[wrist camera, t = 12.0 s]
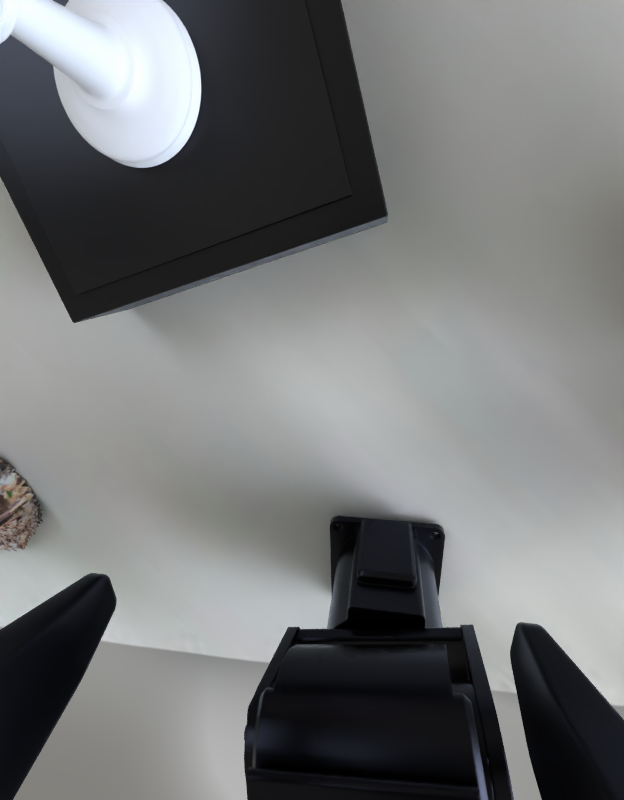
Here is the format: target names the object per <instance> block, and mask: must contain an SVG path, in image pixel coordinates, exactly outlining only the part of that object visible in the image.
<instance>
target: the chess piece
mask: <svg viewBox="0 0 624 800" xmlns="http://www.w3.org/2000/svg"><path fill="white" fill-rule="evenodd" d="M9 35H11V36H13V37H14V38H16V39H17V40H19V41H20V42H22V43H23V44H25V45H26V46H27V47H29V48H30V49H31V50H33V51H34V52H36V53H37V54H38V55H40V56H41V57H42V58H44V59H45V60H47V61H48V62H49V63H51V64H52V65H53V69H54V76H55V82H56V86H57V90H58V93H59V96H60V99H61V102H62V104H63V107H64V109H65V111H66V113H67V115H68V117H69V119H70V120H71V122H72V124H73V125H74V127H75V128H76V129H77V131H78V132H79V133H80V135H81V136H82V137H83V138H84V139H85V140H86V141H87V142H88V143H89V144H90V145H91V146H92V147H94V148H95V149H96V150H98V151H99V152H101V153H102V154H104V155H106V156H108V157H109V158H111V159H113V160H114V161H116V162H118V163H121V164H123V165H126V166H130V167H136V168H147V167H153V166H157V165H160V164H162V163H164V162H166V161H168V160H169V159H171V158H172V157H173V156H175V155H176V154H177V153H178V152H179V151H180V150H181V149H182V147H183V146H184V145H185V144H186V142H187V141H188V139H189V137H190V135H191V133H192V131H193V129H194V127H195V124H196V121H197V117H198V113H199V108H200V102H201V76H200V68H199V63H198V59H197V55H196V52H195V48H194V46H193V43H192V41H191V38H190V36H189V34H188V32H187V30H186V28H185V26H184V25H183V23H182V22H181V20H180V19H179V17H178V16H177V15H176V13H175V12H174V11H173V10H172V9H171V8H170V7H169V6H168V5H167V4H166V3H165V2H164V1H163V0H69V1H68V3H67V4H66V6H65V7H64V6H62V5H60V4H58V3H57V2H55V1H53V0H0V44H1V43H2V42H4V41H5V40H6V39H7V38H8V37H9Z"/></svg>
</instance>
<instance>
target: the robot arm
mask: <svg viewBox="0 0 624 800" xmlns="http://www.w3.org/2000/svg"><path fill="white" fill-rule="evenodd" d="M336 524H341V525H342V526H337V525H336ZM433 532H437V533H438V534H436V535H434V534H432V533H433ZM444 540H445V535H444V529H443V528H442V526H440V525H438V524H429V523H417V522H405V521H393V520H380V519H368V518H356V517H344V516H336V517H333V518H332V520H331V524H330V546H331V585H332V600H331V606H330V613H329V619H328V626H327V629H300V627H288V629H287V631H286V633H285V635H284V637H283V638H282V640H281V642H280V644H279V646H278V648H277V650H276V652H275V654H274V656H273V658H272V660H271V662H270V664H269V666H268V668H267V670H266V672H265V674H264V676H263V678H262V680H261V682H260V684H259V686H258V687H257V690H256V692H255V695H254V697H253V699H252V701H251V703H250V705H249V708H248V713H247V725H246V727H245V732H244V740H245V752H244V753H245V754H244V763H245V776H246V784H247V799H248V800H514V798H513V792H512V787H511V782H510V776H509V771H508V766H507V760H506V756H505V751H504V746H503V742H502V737H501V732H500V727H499V723H498V718H497V714H496V710H495V706H494V702H493V698H492V694H491V690H490V686H489V683H488V679H487V675H486V671H485V668H484V664H483V660H482V657H481V653H480V649H479V646H478V642H477V638H476V634H475V631H474V627H473V625H460V626H461V627H452V628H442V621H441V614H440V607H439V600H438V595H439V586H440V576H441V567H442V558H443V549H444ZM115 607H116V596H115V593H114V590H113V587H112V584H111V581H110V578H109V577H108V576H107V575H105V574H97V573H91V574H88V575H86V576H84V577H83V578H81V579H80V580H78V581H77V582H75V583H73V584H72V585H70V586H69V587H67V588H66V589H64V590H62V591H61V592H59V593H58V594H56V595H54V596H53V597H51V598H50V599H48V600H47V601H45V602H43V603H42V604H40V605H39V606H37V607H36V608H34V609H32V610H31V611H29V612H28V613H26V614H25V615H23V616H21V617H20V618H18V619H17V620H15V621H13V622H12V623H10V624H9V625H7V626H6V627H4V628H2V629H1V630H0V800H13V799H14V797H15V795H16V793H17V792H18V790H19V788H20V786H21V784H22V783H23V781H24V779H25V778H26V776H27V774H28V773H29V771H30V769H31V767H32V766H33V764H34V762H35V760H36V759H37V757H38V755H39V753H40V752H41V750H42V748H43V746H44V745H45V743H46V741H47V739H48V738H49V736H50V734H51V732H52V731H53V729H54V727H55V725H56V724H57V722H58V720H59V718H60V717H61V715H62V713H63V712H64V710H65V708H66V706H67V705H68V703H69V701H70V699H71V698H72V696H73V694H74V692H75V691H76V689H77V687H78V685H79V683H80V682H81V680H82V678H83V676H84V674H85V672H86V670H87V668H88V666H89V664H90V661H91V659H92V657H93V655H94V653H95V651H96V648H97V647H98V644H99V642H100V640H101V638H102V636H103V634H104V632H105V630H106V627H107V625H108V623H109V621H110V619H111V617H112V615H113V613H114V610H115ZM510 657H511V664H512V670H513V675H514V680H515V685H516V690H517V695H518V700H519V706H520V711H521V716H522V721H523V726H524V731H525V736H526V742H527V746H528V751H529V756H530V759H531V763H532V767H533V771H534V774H535V777H536V781H537V785H538V788H539V791H540V795H541V798H542V800H624V720H623V718H622V717H621V716H620V715H619V714H618V713H617V712H616V711H615V709H614V708H613V707H612V706H611V705H610V704H609V702H608V701H607V700H606V699H605V698H604V697H603V695H602V694H601V693H600V692H599V691H598V690H597V689H596V687H595V686H594V685H593V684H592V683H591V682H590V681H589V679H588V678H587V677H586V676H585V675H584V674H583V673H582V671H581V670H580V669H579V668H578V667H577V666H576V665H575V663H574V662H573V661H572V660H571V659H570V658H569V656H568V655H567V654H566V653H565V652H564V651H563V650H562V648H561V647H560V646H559V645H558V644H557V643H556V642H555V640H554V639H553V638H552V637H551V636H550V635H549V634H548V632H547V631H546V630H545V629H544V628H543V627H542V626H540V625H537V624H531V623H522V622H521V623H518V624H517V626H516V629H515V633H514V637H513V641H512V645H511V650H510Z"/></svg>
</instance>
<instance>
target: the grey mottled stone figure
mask: <svg viewBox="0 0 624 800" xmlns="http://www.w3.org/2000/svg"><path fill="white" fill-rule="evenodd" d="M14 470H15V469H13V468H11V467H10V464H4V460H0V549H4V550H8V551H10V550H9V549H8V548H10V549H12V550H14V551H16V550H15V549H14V548H13V547H18V548H22V549H24V548H25V545H27V542H28V539H30V538H29V536H31V535H32V533H34V534H35V531H36V530H35V529H34V527H38V523H39V524H41V523H40V522H39V521H42V520H41V516H42V514H41V509H40V504H39V505H37V503H38V500H36V499H35V495H33V493H32V490H31V487H24V486H22V485H23V483H24V482H25V480H22V479H20V476H17V473H11V472H13V471H14ZM36 505H37V506H36ZM38 520H39V521H38ZM27 538H28V539H27ZM16 552H17V551H16Z"/></svg>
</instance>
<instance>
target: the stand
mask: <svg viewBox="0 0 624 800" xmlns="http://www.w3.org/2000/svg"><path fill="white" fill-rule="evenodd" d="M53 1H55V2H57V3H58V4H60V5H62V6H64V7H65V6H66V4H67V3H68V1H69V0H53ZM163 1H164V2H165V3H166V4H167V5H168V6H169V7H170V8H171V9H172V10H173V11H174V12H175V13H176V15H177V16H178V17H179V19H180V20H181V22H182V23H183V25H184V26H185V28H186V30H187V32H188V34H189V36H190V38H191V41H192V43H193V46H194V48H195V52H196V55H197V59H198V63H199V68H200V76H201V102H200V108H199V113H198V117H197V121H196V124H195V127H194V129H193V131H192V133H191V135H190V137H189V139H188V141H187V142H186V144H185V145H184V146H183V147H182V149H181V150H180V151H179V152H178V153H177V154H176V155H175V156H173V157H172V158H171V159H169V160H168V161H166V162H164V163H162V164H160V165H157V166H153V167H147V168H136V167H130V166H126V165H123V164H121V163H118V162H116V161H114V160H113V159H111V158H109V157H108V156H106V155H104V154H102V153H101V152H99V151H98V150H96V149H95V148H94V147H92V146H91V145H90V144H89V143H88V142H87V141H86V140H85V139H84V138H83V137H82V136H81V135H80V133H79V132H78V131H77V129H76V128H75V127H74V125H73V124H72V122H71V120H70V119H69V117H68V115H67V113H66V111H65V109H64V107H63V104H62V102H61V99H60V96H59V93H58V90H57V86H56V82H55V76H54V69H53V65H52V64H51V63H49V62H48V61H47V60H45V59H44V58H42V57H41V56H40V55H38V54H37V53H36V52H34V51H33V50H31V49H30V48H29V47H27V46H26V45H25V44H23V43H22V42H20V41H19V40H17V39H16V38H14V37H13V36H11V35H9V37H8V38H7V39H6V40H5V41H4V42H2V43H1V44H0V177H1V179H2V181H3V183H4V185H5V187H6V189H7V191H8V193H9V195H10V197H11V199H12V201H13V203H14V205H15V207H16V209H17V211H18V213H19V215H20V217H21V219H22V221H23V223H24V225H25V227H26V229H27V231H28V233H29V235H30V237H31V239H32V241H33V243H34V245H35V247H36V249H37V251H38V253H39V255H40V257H41V259H42V261H43V263H44V265H45V267H46V269H47V271H48V273H49V275H50V277H51V279H52V281H53V283H54V285H55V287H56V289H57V291H58V293H59V295H60V297H61V299H62V301H63V303H64V305H65V308H66V310H67V312H68V314H69V316H70V318H71V320H72V322H74V323H76V322H80V321H84V320H88V319H92V318H96V317H100V316H104V315H108V314H112V313H116V312H120V311H124V310H128V309H131V308H134V307H137V306H140V305H143V304H146V303H149V302H152V301H155V300H158V299H161V298H163V297H166V296H169V295H172V294H175V293H178V292H181V291H184V290H187V289H190V288H193V287H196V286H199V285H202V284H205V283H208V282H211V281H214V280H217V279H220V278H223V277H226V276H229V275H232V274H235V273H238V272H241V271H244V270H247V269H250V268H253V267H256V266H259V265H262V264H264V263H267V262H270V261H273V260H276V259H279V258H282V257H285V256H288V255H291V254H294V253H297V252H300V251H303V250H306V249H309V248H312V247H315V246H318V245H321V244H324V243H327V242H330V241H333V240H336V239H339V238H342V237H345V236H348V235H351V234H354V233H357V232H360V231H362V230H365V229H368V228H371V227H374V226H377V225H380V224H383V223H386V222H387V218H388V213H387V208H386V204H385V199H384V194H383V190H382V185H381V181H380V176H379V172H378V167H377V163H376V158H375V153H374V149H373V144H372V140H371V135H370V131H369V126H368V122H367V117H366V113H365V108H364V103H363V99H362V94H361V90H360V85H359V81H358V76H357V72H356V67H355V62H354V58H353V53H352V49H351V44H350V40H349V35H348V31H347V26H346V21H345V17H344V12H343V8H342V3H341V0H163Z"/></svg>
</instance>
